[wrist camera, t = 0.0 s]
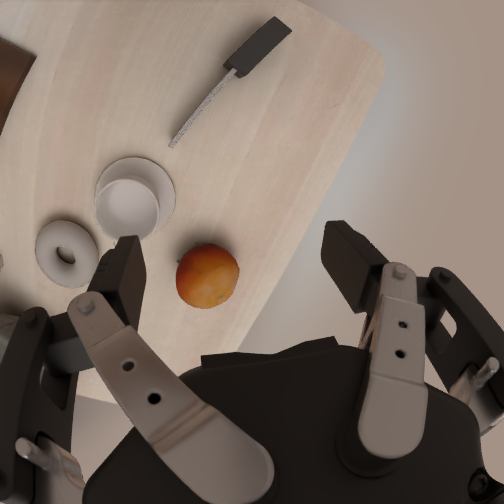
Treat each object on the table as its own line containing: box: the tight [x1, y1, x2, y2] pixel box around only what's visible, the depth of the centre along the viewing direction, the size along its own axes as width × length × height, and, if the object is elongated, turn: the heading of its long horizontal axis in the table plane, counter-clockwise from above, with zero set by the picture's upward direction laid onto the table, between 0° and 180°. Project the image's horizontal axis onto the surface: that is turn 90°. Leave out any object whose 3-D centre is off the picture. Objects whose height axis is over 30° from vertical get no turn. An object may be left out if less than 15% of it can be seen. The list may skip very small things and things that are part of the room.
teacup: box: [94, 157, 175, 245], centre depth 28 cm, size 10×10×5 cm
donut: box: [35, 220, 99, 288], centre depth 30 cm, size 10×4×10 cm
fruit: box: [176, 243, 239, 309], centre depth 34 cm, size 8×8×8 cm
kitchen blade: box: [168, 16, 292, 148], centre depth 23 cm, size 17×2×4 cm, turn 139°
